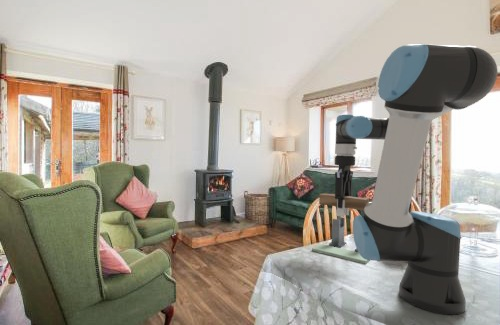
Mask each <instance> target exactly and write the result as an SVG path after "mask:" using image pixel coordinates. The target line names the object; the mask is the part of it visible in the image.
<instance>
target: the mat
mask: <svg viewBox="0 0 500 325" xmlns="http://www.w3.org/2000/svg"><path fill="white" fill-rule="evenodd" d="M311 251H312V252H316V253H319V254H325V255H327V256H331V257H337V258H340V259H345V260H348V261H353V262H357V263H360V264H365V265H367V263H369V262H370V261H371V260H366V259H364V258H363V257H362V256H361V255H360V254H359V252H356V251H355V250H350V249H346V248H343V247H341V248H339V247H334V246H330V245H327V244H323V243H319V244H317V245H316V246H314V247H312V248H311Z"/></svg>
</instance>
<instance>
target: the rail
mask: <svg viewBox="0 0 500 325" xmlns="http://www.w3.org/2000/svg"><path fill="white" fill-rule="evenodd" d="M351 196H352V195H351ZM351 196H344V200H345V208H349V209H351V210H359V211H364V208H365V206H366V205H368V204H370V198H367V197H359V196H352V197H351ZM318 197H319V198H318V205H323V206H330V207H336V208H337V199H335V193H334V194H333V193H332V194H331V193H319V195H318Z"/></svg>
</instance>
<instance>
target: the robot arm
mask: <svg viewBox="0 0 500 325" xmlns="http://www.w3.org/2000/svg"><path fill="white" fill-rule="evenodd" d="M497 79H498V66H497V63H496V60H495V59H494V57H493V56H492V55H491V54H490V53H489V52H488V51H486V50H485V49H482V48H480V47H477V46H472V45H444V44H443V45H442V44H425V43H424V44H423V43H419V44H405V45H402V46H398V47H397V48H396V49H395V50H394V49H393V51H392V52H391V54H390V55H389V56H388V57H387V59H386V60H385V62H384V64H383V66H382V67H381V71H380V74H379V78H378V82H377V87H378V90H377V92H378V95H379V96H378V97H380V99H381V100H383V101H384V105H383V106H384V109H385V110H386V111H387V112H388V114H389V117H367V116H364V115H355V114H340V115H338V116H337V117H336V120H335V121H336V122H335V148H334V154H335V156H334V165H335V166H338V169H337V171H335V173H334V175H335V176H334V177H335V178H334V179H335V182H334V183H335V184H334V186H335V187H334V188H335V190H334V195H335V199H337V207H336V216H337V217H343V218H345V215H346V216H349V211H350V210H349V209H350V208H345V200H344V196H351V197H353V196H352V190H353V189H352V187H353V176H354V175H353V174H354V171H352V170H351V167H355V165H356V157H355V155H356V150H357V149H358V147H357V140H358V139H359V140H384V141H383V147H382V152H381V156H380V161H379V167H378V171H377V176H376V181H375V186H374V191H373V196H372V200H371V202H369V204H368V205H366V206H365V208H364V210H363V214H362V215H361V214H358V215H356V216H355V217H354V218H353V221H352V236H353V241H354V245H355V249H356V248H357V250H358V252H359V254H360V255H361V256H362V257H363V258H364V259H366V260H370V261H374V262H375V261H376V262H381V261H382V262H406V263H407V265H406V269H405V272H404V273H403V275H402V278H401V280H400V282H399V289H398V293H399V296H400V297H401V298H402V299H403V300H404V301H406V302H408V303H409V304H411V305H412V306H414V307H417V308H419V309H422V310H425V311H428V312H432V313H436V314H443V315H459V314H462V313H464V312H465V311H466V297H465V294H464V291H463V287H462V285H461V282H460V279H459V269H460V254H461V252H460V250H461V240H462V234H461V224H459V223H460V222H458V221H456V220H455V219H453V218H450V217H446V216H443V215H440V214H435V213H434V214H433V213H430V212H424V211H417V210H412V211H410V212H409V209H410V205H411V202H412V197H413V194H414V190H415V187H416V182H417V178H418V175H419V170H420V167H421V163H422V159H423V155H424V151H425V147H426V144H427V141H428V140H427V139H428V135H429V131H430V128H431V125H432V121H433V120H435V119H437V118H439V117H441V116H443V115H445V114H447V113H449V112H451V111H452V110H458V111H459V110H463V109H466V108H468V107H470V106H472V105H474V104H476V103H478V102H479V101H481V100H482V99H484V98H485V97H486V96H488V94H489V93H490V92H491V91H492V90H493V88H494V86H495V84H496V82H497Z"/></svg>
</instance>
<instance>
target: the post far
mask: <svg viewBox="0 0 500 325" xmlns="http://www.w3.org/2000/svg"><path fill="white" fill-rule="evenodd" d="M345 221H346V217H341V216H337V218H332V222H331V223H332V224H331V225H332V227H331V242H329V245H328V246H333V247H334V246H335V247H337V248H339V247H340V248H343V247H345V246H346V245H347V242H346V241H345V229H346V228H345V226H346V225H345V224H346V222H345ZM345 244H346V245H345ZM342 246H343V247H342Z"/></svg>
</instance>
